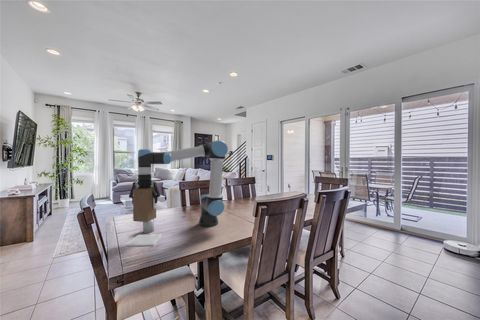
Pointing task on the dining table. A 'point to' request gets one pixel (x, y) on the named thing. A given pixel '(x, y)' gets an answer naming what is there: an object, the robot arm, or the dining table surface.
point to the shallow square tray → (145, 240)
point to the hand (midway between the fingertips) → (145, 208)
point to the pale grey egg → (148, 226)
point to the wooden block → (143, 205)
